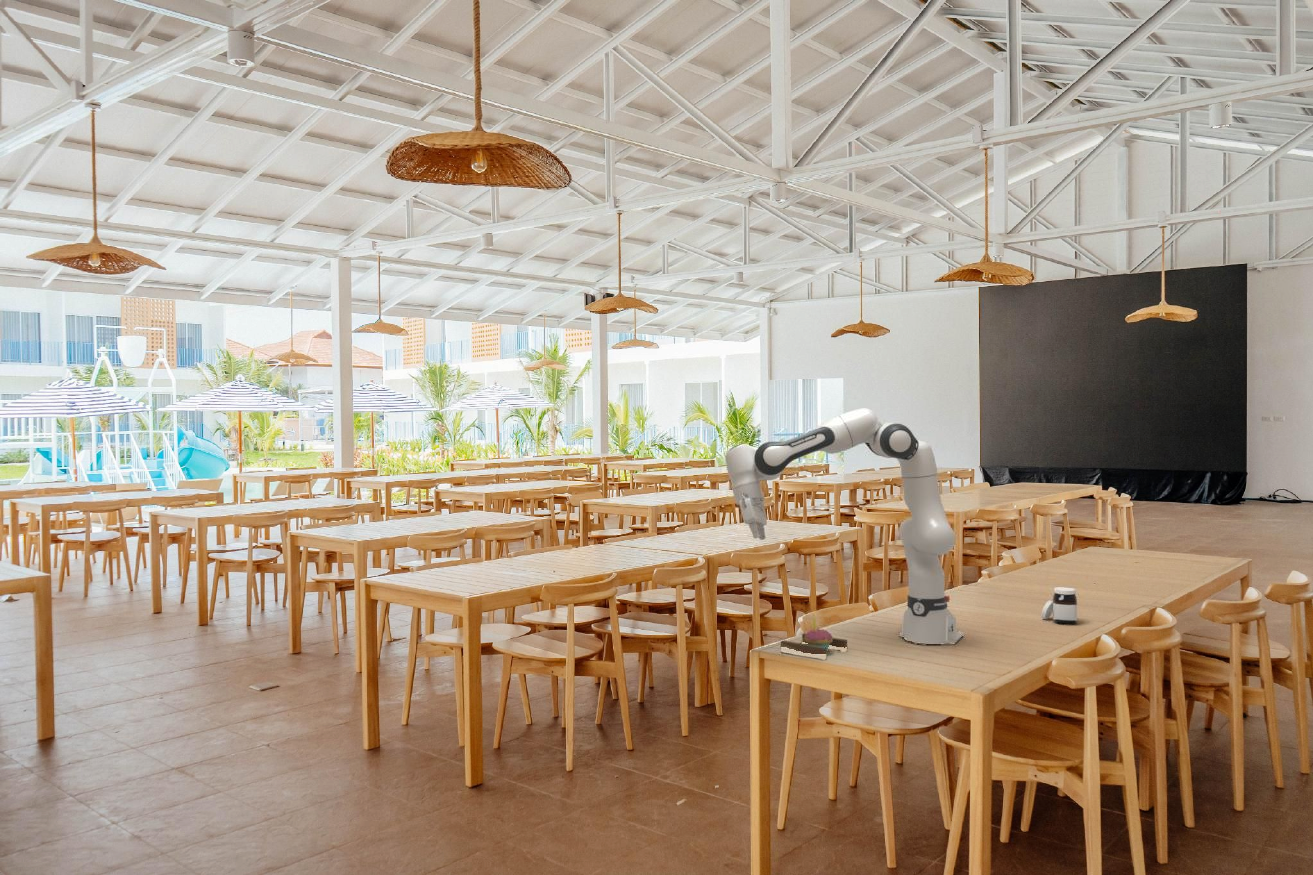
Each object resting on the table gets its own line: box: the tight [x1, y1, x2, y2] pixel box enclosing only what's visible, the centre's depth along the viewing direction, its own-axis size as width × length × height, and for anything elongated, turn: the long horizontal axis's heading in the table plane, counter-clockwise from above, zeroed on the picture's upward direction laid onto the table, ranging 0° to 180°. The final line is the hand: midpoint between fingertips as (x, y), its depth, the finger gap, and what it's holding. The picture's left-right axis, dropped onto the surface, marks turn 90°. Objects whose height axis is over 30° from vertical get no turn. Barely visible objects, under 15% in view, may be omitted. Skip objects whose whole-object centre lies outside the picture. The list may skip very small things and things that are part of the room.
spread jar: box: [1040, 586, 1078, 625], centre depth 335 cm, size 12×11×12 cm
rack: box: [780, 632, 848, 654], centre depth 296 cm, size 14×15×4 cm
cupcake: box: [805, 614, 834, 650], centre depth 295 cm, size 9×8×12 cm
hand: (760, 538), depth 299 cm, fingers open, 8 cm apart
